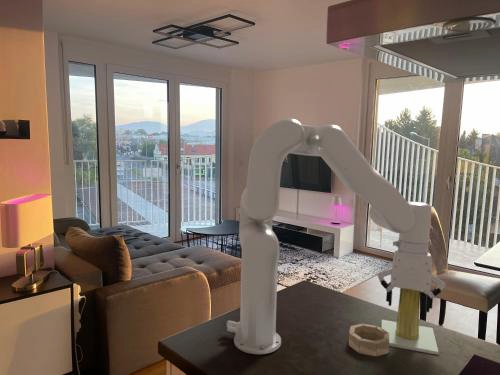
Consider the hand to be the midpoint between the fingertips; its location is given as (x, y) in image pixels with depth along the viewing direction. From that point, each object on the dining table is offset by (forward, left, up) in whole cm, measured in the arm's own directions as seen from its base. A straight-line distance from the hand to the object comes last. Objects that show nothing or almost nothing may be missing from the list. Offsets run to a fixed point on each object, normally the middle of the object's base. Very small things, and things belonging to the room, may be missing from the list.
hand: (408, 307), depth 104 cm
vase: (0, 0, -8) cm, 8 cm away
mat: (0, 0, -9) cm, 9 cm away
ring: (-10, -9, -9) cm, 16 cm away
